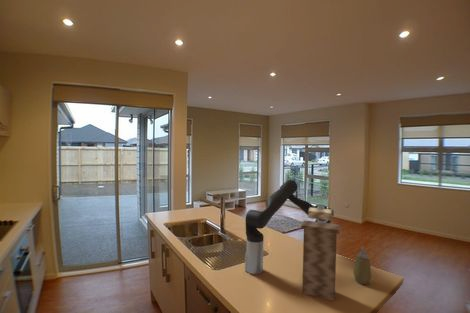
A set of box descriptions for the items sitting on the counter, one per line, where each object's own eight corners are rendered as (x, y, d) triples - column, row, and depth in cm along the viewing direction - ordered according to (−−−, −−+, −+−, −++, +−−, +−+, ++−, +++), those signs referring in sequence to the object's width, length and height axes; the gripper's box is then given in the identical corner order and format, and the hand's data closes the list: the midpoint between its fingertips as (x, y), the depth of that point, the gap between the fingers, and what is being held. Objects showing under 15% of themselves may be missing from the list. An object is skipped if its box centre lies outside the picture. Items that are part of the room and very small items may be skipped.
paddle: (308, 217, 122) (308, 210, 122) (311, 209, 139) (311, 203, 139) (331, 220, 118) (331, 213, 117) (331, 211, 135) (331, 205, 134)
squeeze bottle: (355, 276, 129) (356, 242, 128) (372, 281, 123) (373, 246, 123) (351, 282, 122) (352, 247, 122) (369, 288, 117) (370, 251, 117)
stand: (299, 293, 111) (301, 225, 111) (302, 283, 120) (303, 220, 119) (337, 302, 105) (339, 230, 105) (337, 291, 114) (338, 224, 113)
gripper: (310, 208, 150) (308, 199, 136) (334, 211, 145) (335, 201, 131) (309, 220, 147) (307, 212, 133) (334, 223, 141) (334, 215, 127)
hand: (321, 207), depth 132 cm, fingers closed on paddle, 3 cm apart
